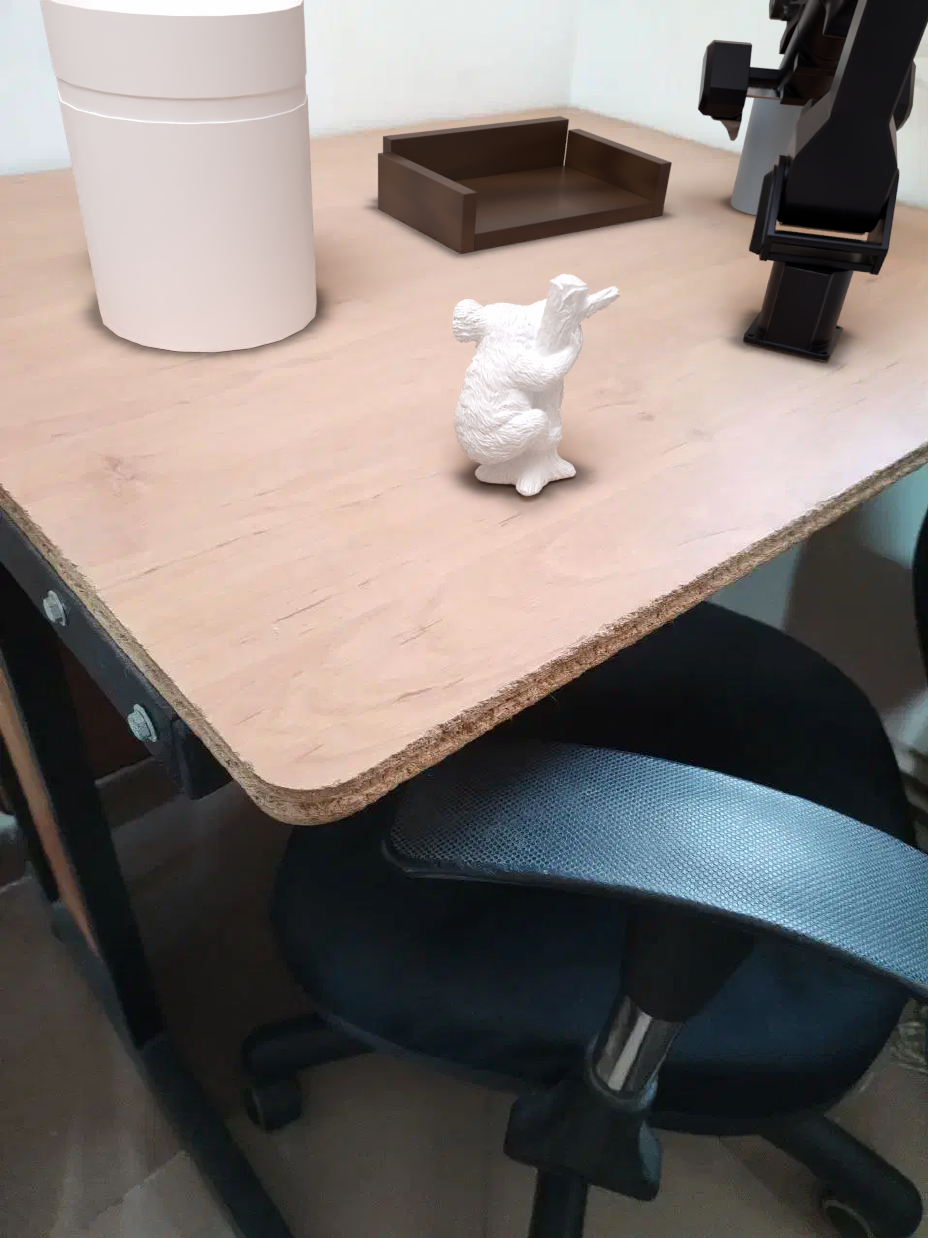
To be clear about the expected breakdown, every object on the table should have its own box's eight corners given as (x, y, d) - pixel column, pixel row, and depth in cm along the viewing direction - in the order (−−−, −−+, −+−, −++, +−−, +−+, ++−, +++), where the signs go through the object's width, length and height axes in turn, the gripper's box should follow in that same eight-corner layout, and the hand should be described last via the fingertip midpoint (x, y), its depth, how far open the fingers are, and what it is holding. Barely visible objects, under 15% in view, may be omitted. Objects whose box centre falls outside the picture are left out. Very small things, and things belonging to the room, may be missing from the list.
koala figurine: (596, 461, 58) (628, 261, 50) (579, 520, 53) (613, 308, 45) (460, 437, 59) (472, 240, 51) (432, 493, 54) (440, 283, 46)
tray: (662, 215, 96) (674, 150, 92) (460, 253, 84) (464, 181, 80) (563, 174, 106) (570, 114, 102) (369, 203, 94) (369, 137, 90)
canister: (352, 329, 71) (346, 12, 58) (135, 368, 64) (74, 19, 51) (269, 258, 81) (248, -25, 68) (75, 285, 74) (11, -24, 61)
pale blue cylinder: (796, 219, 98) (828, 99, 91) (733, 213, 98) (760, 93, 91) (784, 195, 104) (814, 81, 97) (725, 190, 104) (750, 76, 97)
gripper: (952, -52, 80) (879, 73, 96) (729, -69, 81) (693, 57, 97) (943, 72, 79) (870, 177, 95) (717, 52, 80) (682, 160, 96)
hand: (778, 140), depth 95 cm, fingers open, 9 cm apart
